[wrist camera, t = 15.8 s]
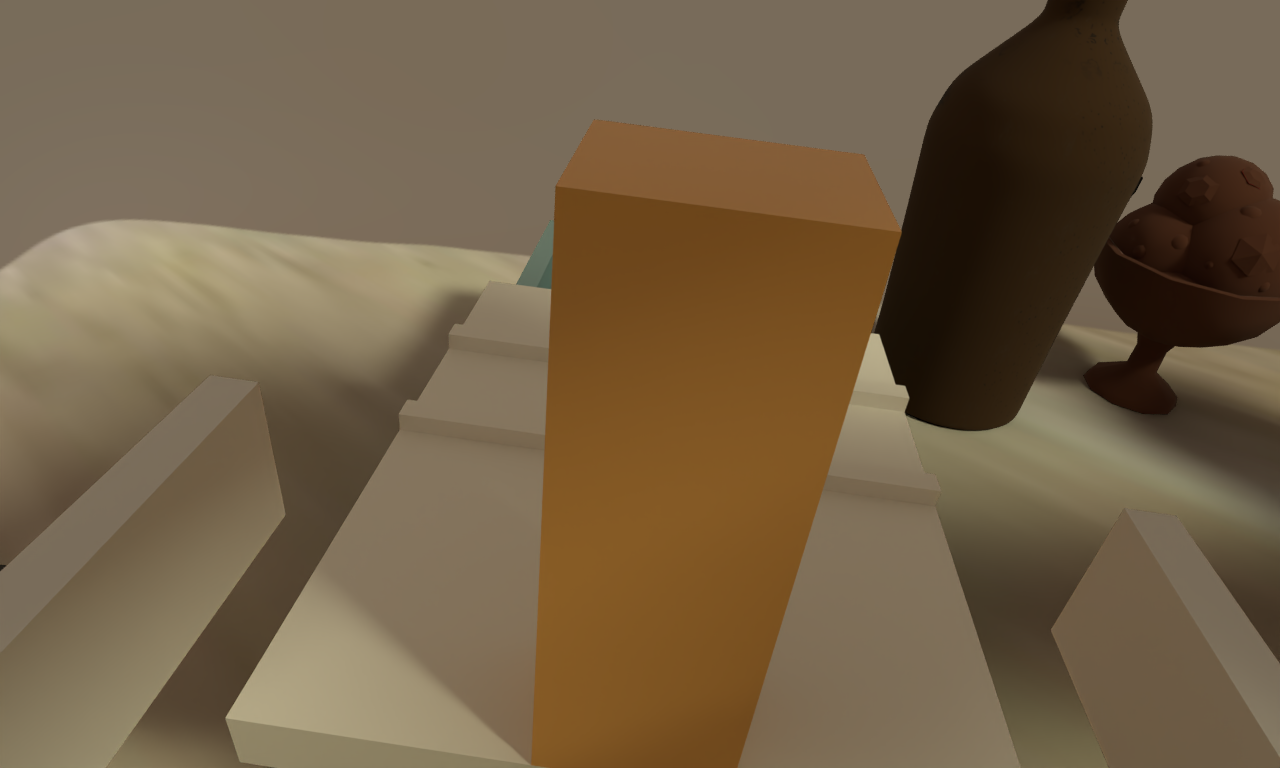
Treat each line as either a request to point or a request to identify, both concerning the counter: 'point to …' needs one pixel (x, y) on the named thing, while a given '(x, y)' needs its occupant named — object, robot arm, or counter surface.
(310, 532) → the counter surface
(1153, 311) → the ice cream bowl
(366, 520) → the lid
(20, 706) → the robot arm
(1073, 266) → the olive oil
